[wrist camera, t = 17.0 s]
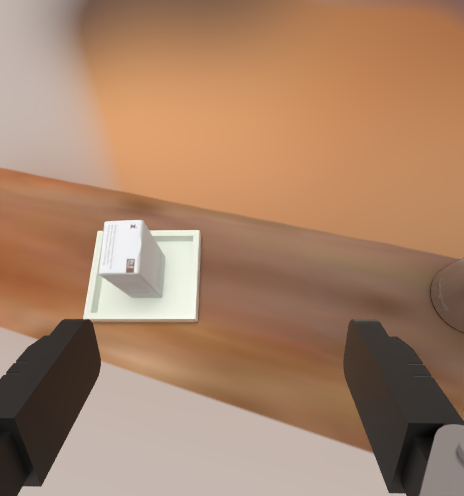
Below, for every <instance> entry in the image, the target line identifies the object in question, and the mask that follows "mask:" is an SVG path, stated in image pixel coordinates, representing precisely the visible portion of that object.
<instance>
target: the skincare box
mask: <svg viewBox="0 0 464 496" xmlns="http://www.w3.org/2000/svg"><path fill="white" fill-rule="evenodd" d="M164 266H165V255H164V254H163V252H162V251H161V249H160V247H159V246H158V244H157V242H156V241H155V239H154V238H153V236H152V234H151V233H150V231H149V229H148V228H147V226H146V224H145V223H144V221H143V220H127V221H106V222H105V223H104V232H103V241H102V249H101V258H100V266H99V273H98V274H99V275H100V276H102V277H103V278H104V279H106V280H107V281H109V282H110V283H112V284H113V285H114V286H116V287H117V288H119V289H120V290H121V291H123V292H124V293H126V294H127V295H128V296H130V297H131V298H162V296H163V281H164Z"/></svg>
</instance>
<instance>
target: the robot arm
mask: <svg viewBox="0 0 464 496" xmlns="http://www.w3.org/2000/svg"><path fill="white" fill-rule="evenodd" d="M431 299H432V302H433V305H434V307H435V309H436V311H437V313H438V314H439V315H440V316H441V318H442V319H443V320H444V321H445V322H446V323H448V324H449V325H450V326H452V327H453V328H455V329H456V330H459V331H461V332H464V258H462V259H460V260H459V261H457V262H455V263H453V264H451V265H449V266H447V267H446V268H444V269H442V270H441V271H440V272H438V273H437V275H436V276H435V277H434V279H433V282H432V284H431ZM343 365H344V374H345V378H346V381H347V384H348V387H349V389H350V392H351V395H352V397H353V400H354V402H355V405H356V408H357V410H358V413H359V416H360V418H361V421H362V423H363V426H364V429H365V431H366V434H367V436H368V439H369V442H370V444H371V447H372V450H373V452H374V455H375V457H376V460H377V463H378V465H379V468H380V471H381V473H382V476H383V478H384V481H385V483H386V486H387V489H388V491H389V493H406V495H407V496H464V421H463V420H462V418H461V417H460V415H459V414H458V412H457V411H456V410H455V408H454V407H453V405H452V404H451V403H450V401H449V400H448V398H447V397H446V395H445V394H444V393H443V391H442V390H441V388H440V387H439V385H438V384H437V383H436V381H435V380H434V378H431V374H430V373H429V371H428V370H427V368H426V367H425V366H423V363H422V361H421V360H420V358H419V357H418V356H417V354H416V353H415V351H414V350H413V349H412V348H411V347H410V346H408V345H407V344H406V343H405V342H403V341H402V340H401V339H399V338H398V337H389V336H388V334H387V333H386V331H385V330H384V328H383V327H382V325H381V323H380V322H379V321H378V320H351V321H350V323H349V327H348V333H347V340H346V346H345V353H344V362H343ZM100 366H101V358H100V353H99V349H98V344H97V340H96V335H95V331H94V327H93V323H92V321H91V320H90V319H64V320H62V321H61V322H60V323H59V324H58V326H57V327H56V328H55V329H54V330H53V332H52V333H51V334H50V335H49V336H44V337H42V338H41V339H39V340H38V341H36V342H35V343H33V344H32V345H30V346H29V347H28V348H27V349H26V350H25V351H24V352H23V354H22V355H21V356H20V357H19V358H18V359H17V360H16V363H14V364H13V365H12V366H11V367H10V368H9V370H8V371H7V372H6V375H3V376H2V378H1V379H0V496H17V495H18V493H19V492H20V490H21V488H22V486H42V484H43V482H44V480H45V478H46V476H47V474H48V472H49V470H50V469H51V467H52V465H53V463H54V461H55V459H56V457H57V455H58V453H59V451H60V449H61V447H62V445H63V444H64V441H65V440H66V438H67V436H68V434H69V432H70V430H71V428H72V426H73V424H74V422H75V421H76V419H77V417H78V414H79V413H80V411H81V409H82V407H83V405H84V403H85V401H86V399H87V398H88V395H89V394H90V392H91V390H92V388H93V386H94V384H95V382H96V380H97V378H98V376H99V372H100Z"/></svg>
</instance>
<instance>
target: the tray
mask: <svg viewBox="0 0 464 496" xmlns="http://www.w3.org/2000/svg"><path fill="white" fill-rule="evenodd" d="M103 232H104V231H98V233H97V239H96V245H95V251H94V257H93V263H92V269H91V275H90V281H89V287H88V293H87V299H86V305H85V311H84V317H83V319H90V320H91V321H92V322H198V309H199V285H200V261H201V234H200V231H199V230H159V231H150V233H151V234H152V236H153V238H154V239H155V241H156V242H157V244H158V246H159V247H160V249H161V251H162V252H163V254H164V255H165V266H164V281H163V296H162V298H131V297H130V296H128V295H127V294H126V293H124V292H123V291H121V290H120V289H119V288H117V287H116V286H114V285H113V284H112V283H110V282H109V281H107V280H106V279H104V278H103V277H102V276H100V275H99V274H98V273H99V266H100V258H101V249H102V241H103Z"/></svg>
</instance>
